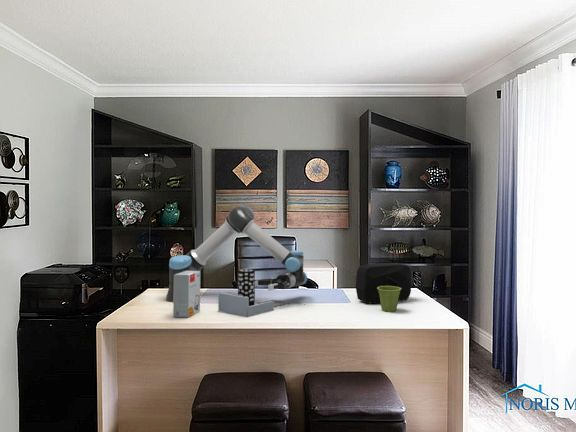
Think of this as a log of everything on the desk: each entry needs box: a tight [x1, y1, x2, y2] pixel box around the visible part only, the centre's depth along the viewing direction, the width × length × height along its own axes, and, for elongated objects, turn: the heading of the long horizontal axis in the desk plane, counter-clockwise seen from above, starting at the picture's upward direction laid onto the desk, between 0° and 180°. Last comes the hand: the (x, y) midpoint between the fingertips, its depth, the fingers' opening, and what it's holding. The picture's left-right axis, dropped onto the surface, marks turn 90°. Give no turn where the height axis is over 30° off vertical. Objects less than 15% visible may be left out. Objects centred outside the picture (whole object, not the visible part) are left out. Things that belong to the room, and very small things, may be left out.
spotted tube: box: [237, 268, 256, 306], centre depth 251 cm, size 8×8×20 cm
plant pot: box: [377, 286, 401, 313], centre depth 253 cm, size 12×12×11 cm
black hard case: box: [355, 262, 412, 304], centre depth 274 cm, size 30×12×20 cm, turn 114°
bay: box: [218, 292, 275, 318], centre depth 251 cm, size 19×19×9 cm
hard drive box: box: [172, 270, 201, 318], centre depth 243 cm, size 16×8×20 cm, turn 168°
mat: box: [257, 299, 290, 308], centre depth 267 cm, size 12×12×1 cm
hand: (258, 286), depth 257 cm, fingers open, 13 cm apart
